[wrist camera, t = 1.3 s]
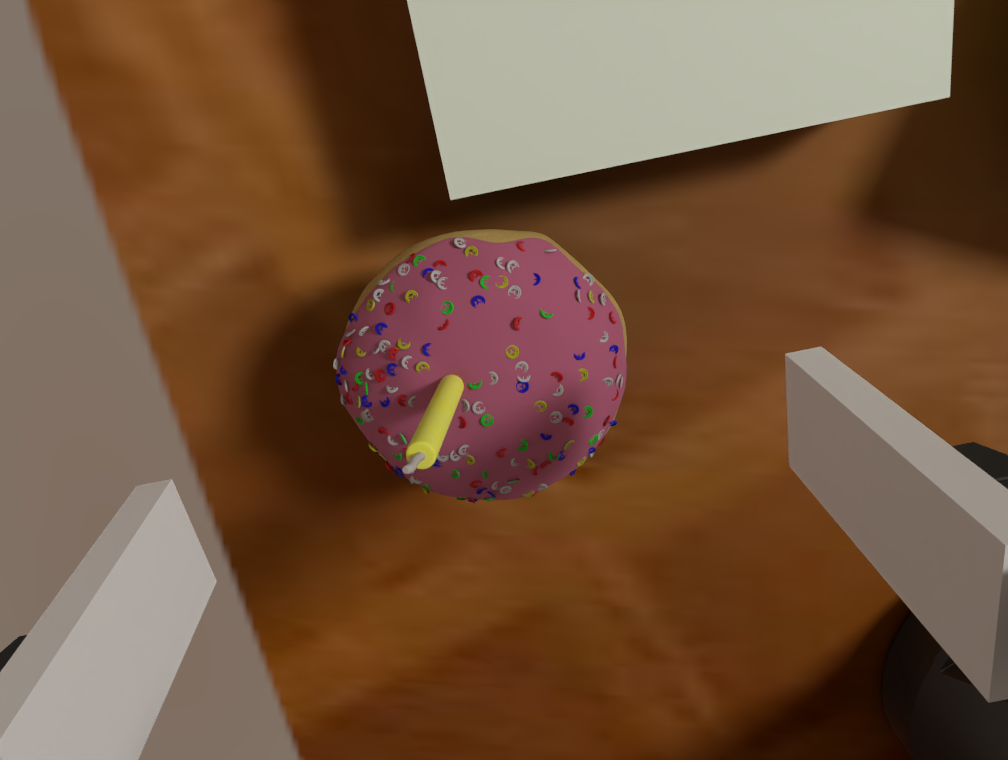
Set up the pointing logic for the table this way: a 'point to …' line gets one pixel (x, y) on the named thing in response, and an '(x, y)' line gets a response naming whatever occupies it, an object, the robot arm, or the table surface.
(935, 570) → the robot arm
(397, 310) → the cupcake
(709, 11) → the sage stand
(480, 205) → the table surface
